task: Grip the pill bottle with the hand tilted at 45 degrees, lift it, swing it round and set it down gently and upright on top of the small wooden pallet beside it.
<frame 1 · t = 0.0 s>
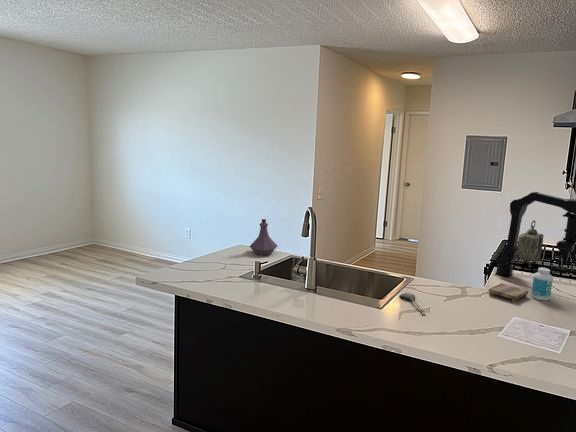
hand: (568, 260, 208), 15 cm above the worktop, tool pointing down, fingers open, 9 cm apart
soupspoon: (413, 305, 192), on the worktop
pill bottle: (540, 298, 201), on the worktop
tabletop clock: (527, 265, 250), on the worktop
flask: (263, 253, 262), on the worktop
small wooden pallet: (507, 296, 203), on the worktop
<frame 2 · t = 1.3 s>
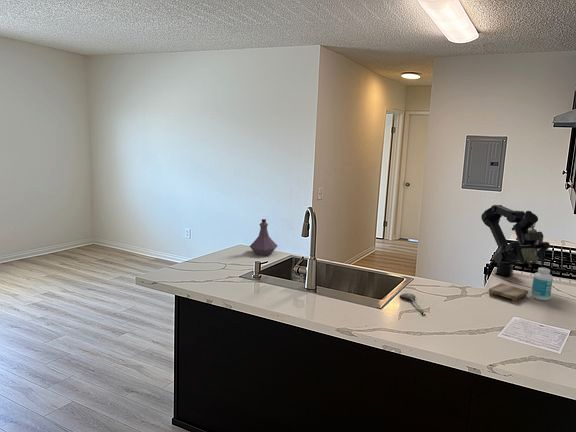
hand: (533, 263, 207), 13 cm above the worktop, tool tilted 45°, fingers open, 9 cm apart
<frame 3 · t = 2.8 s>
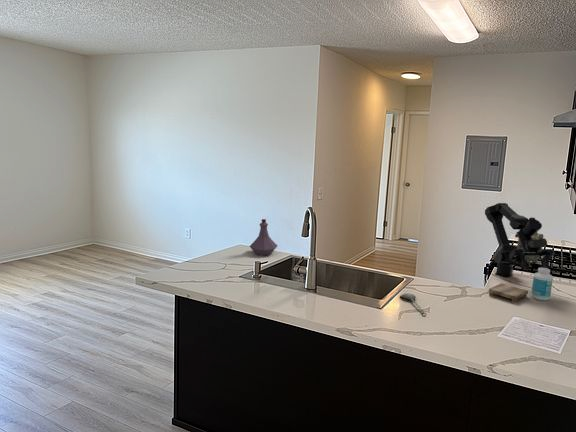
hand: (537, 270, 203), 11 cm above the worktop, tool tilted 45°, fingers open, 9 cm apart
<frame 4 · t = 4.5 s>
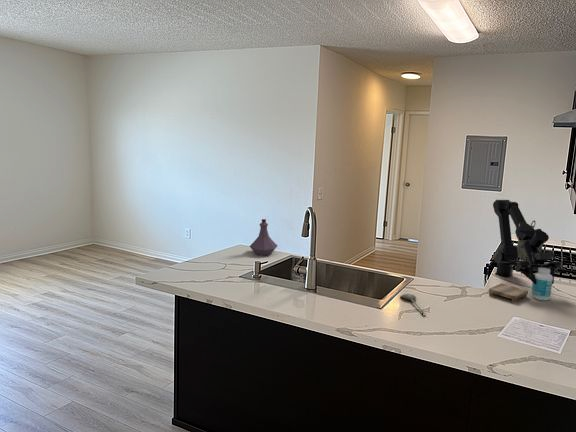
hand: (544, 283, 199), 7 cm above the worktop, tool tilted 45°, fingers closed on pill bottle, 7 cm apart
pill bottle: (540, 298, 201), on the worktop, touching gripper
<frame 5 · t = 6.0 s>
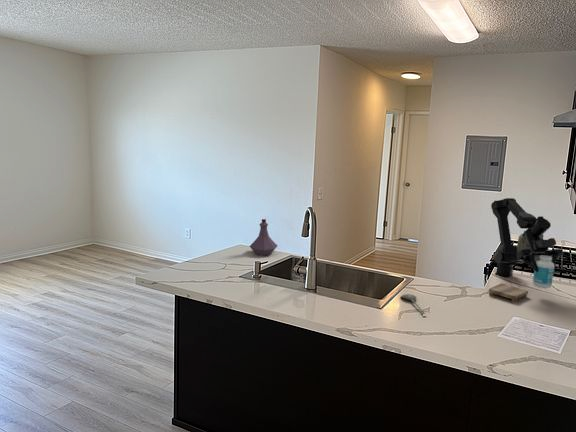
hand: (545, 271, 198), 13 cm above the worktop, tool tilted 45°, fingers closed on pill bottle, 7 cm apart
pill bottle: (541, 286, 200), point 5 cm above the worktop, touching gripper
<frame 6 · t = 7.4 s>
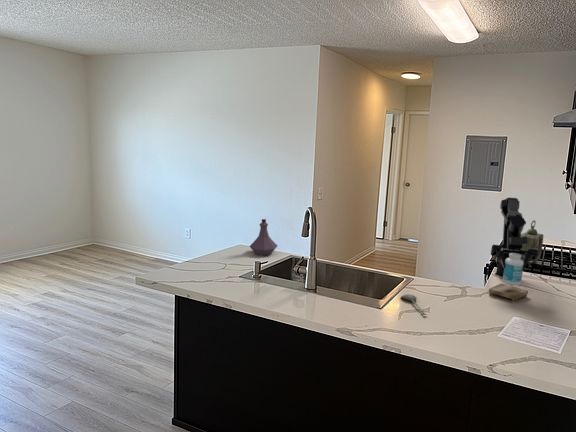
hand: (513, 268, 199), 13 cm above the worktop, tool tilted 45°, fingers closed on pill bottle, 7 cm apart
pill bottle: (511, 283, 202), point 6 cm above the worktop, touching gripper
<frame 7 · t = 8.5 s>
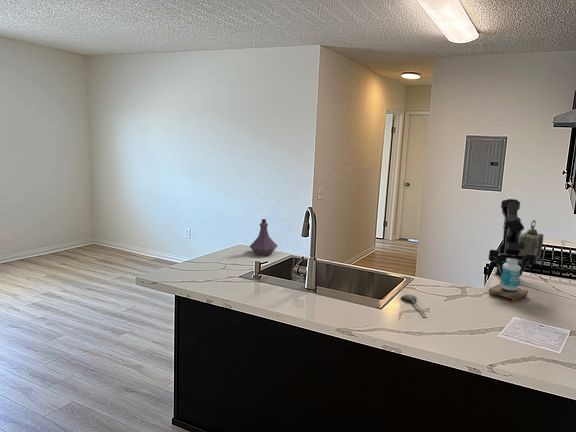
hand: (510, 274, 200), 11 cm above the worktop, tool tilted 45°, fingers closed on pill bottle, 7 cm apart
pill bottle: (508, 288, 202), point 3 cm above the worktop, touching gripper
when the fingers open (11 cm above the worktop, at t = 8.6 s): pill bottle stays where it is, resting on small wooden pallet.
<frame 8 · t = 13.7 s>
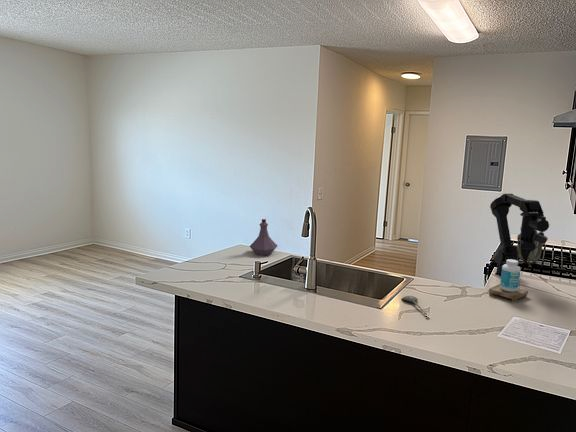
hand: (524, 258, 215), 13 cm above the worktop, tool pointing down, fingers open, 9 cm apart
soupspoon: (416, 308, 189), on the worktop
pill bottle: (508, 290, 202), point 3 cm above the worktop, touching small wooden pallet
everything else where it was.
at the end: pill bottle inside the target area on the small wooden pallet (0.1 cm from its centre), point 2.8 cm above the small wooden pallet's base; pill bottle tilted 0°; the gripper is holding nothing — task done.
